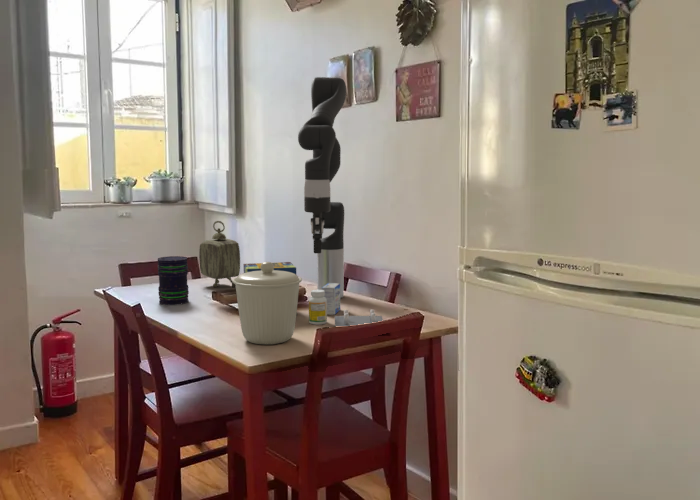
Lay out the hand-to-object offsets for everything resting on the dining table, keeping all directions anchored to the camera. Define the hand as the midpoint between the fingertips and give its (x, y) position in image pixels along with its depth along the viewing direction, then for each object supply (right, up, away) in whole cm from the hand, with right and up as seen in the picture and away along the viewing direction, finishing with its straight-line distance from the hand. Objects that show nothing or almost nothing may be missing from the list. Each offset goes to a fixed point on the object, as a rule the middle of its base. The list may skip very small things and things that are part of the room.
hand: (317, 251), depth 197 cm
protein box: (-15, -20, +14) cm, 29 cm away
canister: (-12, -24, -17) cm, 32 cm away
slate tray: (+12, -22, -3) cm, 25 cm away
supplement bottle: (0, -21, +3) cm, 22 cm away
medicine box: (+3, -20, +17) cm, 26 cm away
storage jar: (-50, -17, +32) cm, 62 cm away
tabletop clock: (-40, -14, +60) cm, 73 cm away
